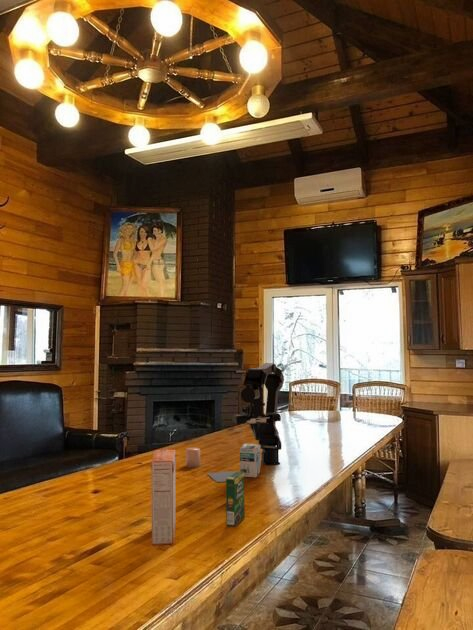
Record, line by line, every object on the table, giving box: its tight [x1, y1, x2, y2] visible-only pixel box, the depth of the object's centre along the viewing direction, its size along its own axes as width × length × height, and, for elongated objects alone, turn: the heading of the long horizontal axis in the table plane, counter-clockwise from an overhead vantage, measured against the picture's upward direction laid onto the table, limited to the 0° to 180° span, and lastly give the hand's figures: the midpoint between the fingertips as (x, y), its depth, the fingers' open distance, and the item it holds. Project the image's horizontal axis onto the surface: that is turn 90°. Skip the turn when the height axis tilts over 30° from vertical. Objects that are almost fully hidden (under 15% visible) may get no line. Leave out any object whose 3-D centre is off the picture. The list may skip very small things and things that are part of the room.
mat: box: [206, 470, 246, 484], centre depth 186 cm, size 11×13×1 cm
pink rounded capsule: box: [185, 447, 201, 469], centre depth 205 cm, size 6×6×7 cm
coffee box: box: [225, 471, 246, 528], centre depth 138 cm, size 8×3×13 cm, turn 159°
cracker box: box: [150, 449, 177, 546], centre depth 130 cm, size 14×6×21 cm, turn 5°
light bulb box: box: [239, 443, 262, 478], centre depth 190 cm, size 11×7×11 cm, turn 168°
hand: (256, 440), depth 192 cm, fingers closed
